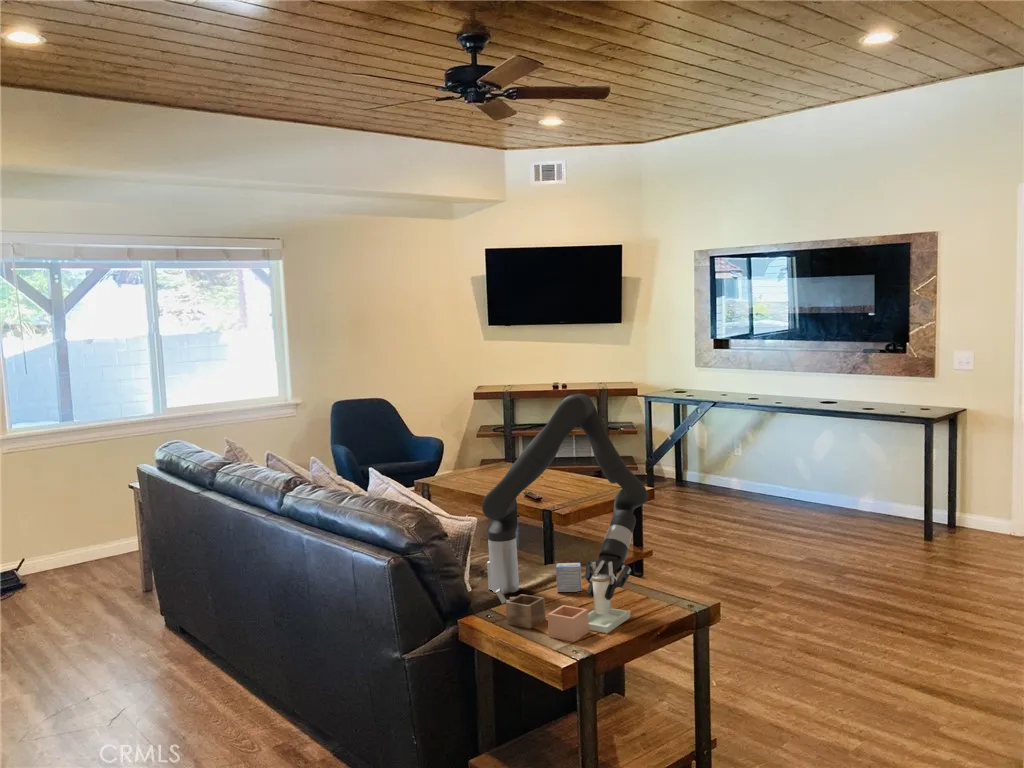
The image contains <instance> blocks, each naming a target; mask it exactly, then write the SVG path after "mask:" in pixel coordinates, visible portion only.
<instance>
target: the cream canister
mask: <svg viewBox="0 0 1024 768" xmlns="http://www.w3.org/2000/svg"><path fill="white" fill-rule="evenodd" d="M592 582H593V598H592V599H593V610H594V612H595V613H596V614H609V613H611V608H612V598H610V600H607V599H606V598H605V594H606V591H607V588H608V585H610V576H609V575H608V574H600V573H599V574H595V575H594V574H593V576H592Z"/></svg>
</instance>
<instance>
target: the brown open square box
mask: <svg viewBox="0 0 1024 768" xmlns="http://www.w3.org/2000/svg"><path fill="white" fill-rule="evenodd" d="M514 597H515V598H513V599H511V600H510V599H508V600H509V601H507V602H505V609H506V611H505V612H506V613H505V614H506V624H507V625H509V626H510V625H511V626H516V627H521V628H527V629H532V628H534V627H535V626H537V625H538V624H540V623H542V622H543V621H545V620H546V602H545V601H546V600H545V597H541V596H537V595H528V594H522V593H521V594H519V595H517V596H514Z"/></svg>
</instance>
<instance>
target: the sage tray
mask: <svg viewBox="0 0 1024 768" xmlns="http://www.w3.org/2000/svg"><path fill="white" fill-rule="evenodd" d="M630 618H631V611H630V610H626V609H618V608H613V607H611V613H609V614H596V613H595V612H594V609H592V610H590V611H588V619H589V632H590V631H592V632H597V633H601V634H602V633H603V634H609V633H610V632H612V631H613V630H614V629H616V628H617V627H619V626H620V625H621V624H623V623H624V622H625V621H627V620H628V619H630Z"/></svg>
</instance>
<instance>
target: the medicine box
mask: <svg viewBox="0 0 1024 768" xmlns="http://www.w3.org/2000/svg"><path fill="white" fill-rule="evenodd" d="M555 571H556V572H555V573H556V589H557V590H556V591H557V592H577V591H582V592H583V583H582V566H581V562H566V563H565V562H563V563H562V562H561V563H556V565H555ZM557 592H556V593H557ZM577 593H578V592H577Z"/></svg>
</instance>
